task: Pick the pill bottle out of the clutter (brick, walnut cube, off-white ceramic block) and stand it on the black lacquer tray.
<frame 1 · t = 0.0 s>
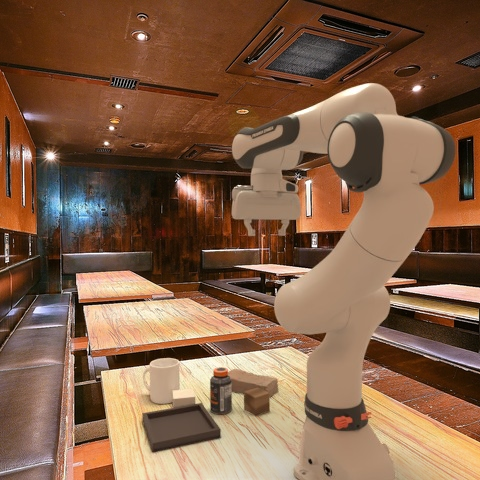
hand: (267, 235, 108), 48 cm above the table, fingers open, 8 cm apart
pill bottle: (221, 410, 107), on the table
brick: (249, 391, 121), on the table
tray: (179, 428, 96), on the table
walnut cube: (256, 410, 106), on the table
ceramic block: (183, 407, 109), on the table
mug: (160, 398, 115), on the table
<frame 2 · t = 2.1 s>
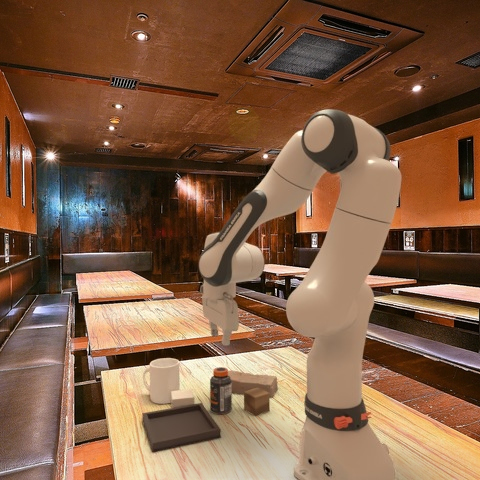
hand: (219, 340, 107), 19 cm above the table, fingers open, 8 cm apart
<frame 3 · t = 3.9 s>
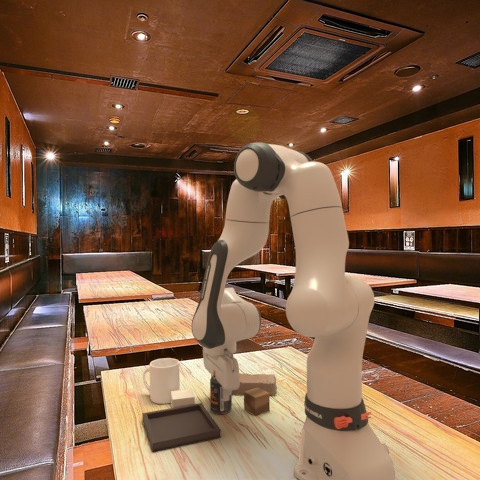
hand: (220, 394, 107), 4 cm above the table, fingers closed on pill bottle, 6 cm apart
pill bottle: (221, 410, 107), on the table, touching gripper
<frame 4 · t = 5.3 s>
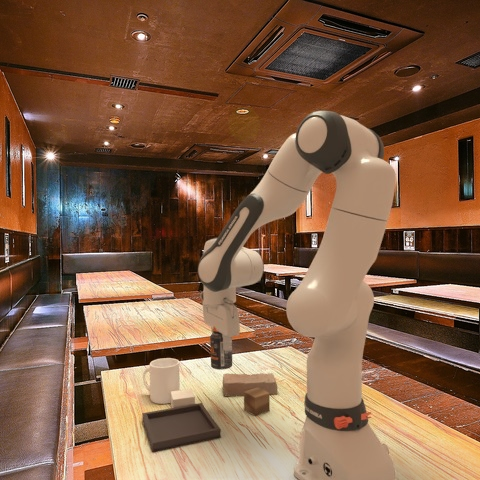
hand: (221, 346, 106), 18 cm above the table, fingers closed on pill bottle, 6 cm apart
pill bottle: (221, 367, 106), point 12 cm above the table, touching gripper
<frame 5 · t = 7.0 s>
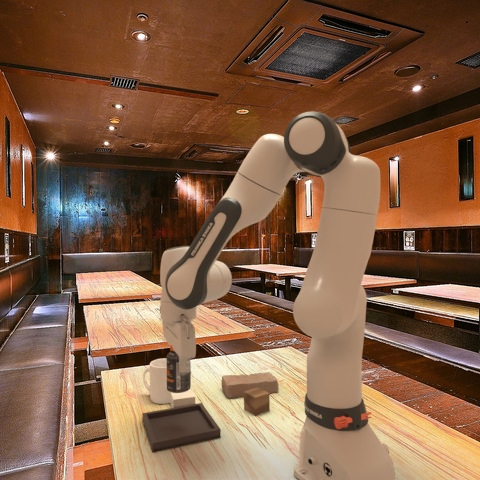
hand: (178, 366, 96), 16 cm above the table, fingers closed on pill bottle, 6 cm apart
pill bottle: (178, 389, 96), point 10 cm above the table, touching gripper
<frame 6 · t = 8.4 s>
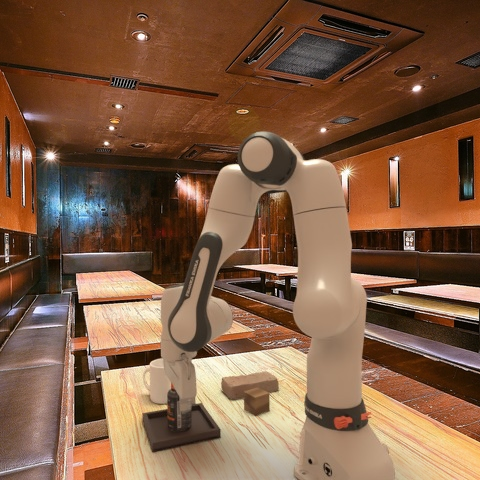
hand: (179, 403, 96), 6 cm above the table, fingers closed on pill bottle, 6 cm apart
pill bottle: (179, 427, 96), resting on tray, touching gripper
when the fingers open (6 cm above the table, at t = 8.8 s): pill bottle stays where it is, resting on tray.
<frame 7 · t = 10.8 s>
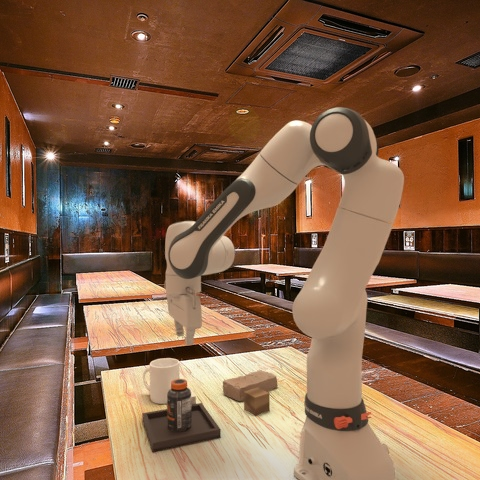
hand: (184, 339, 98), 22 cm above the table, fingers open, 8 cm apart
pill bottle: (179, 427, 96), resting on tray
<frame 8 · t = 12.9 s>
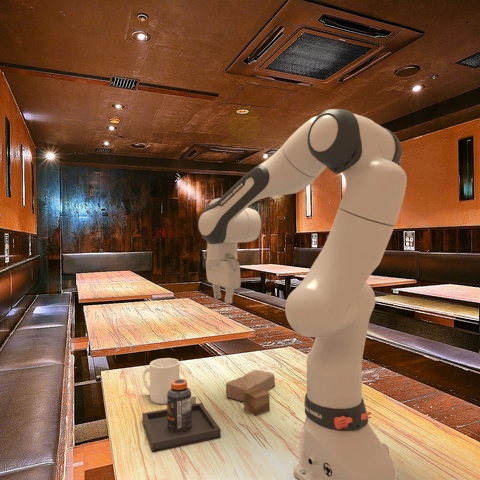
hand: (222, 300, 113), 29 cm above the table, fingers open, 8 cm apart
at the end: pill bottle inside the target area on the tray (0.0 cm from its centre), point 0.4 cm above the tray's base; pill bottle tilted 0°; the gripper is holding nothing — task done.
